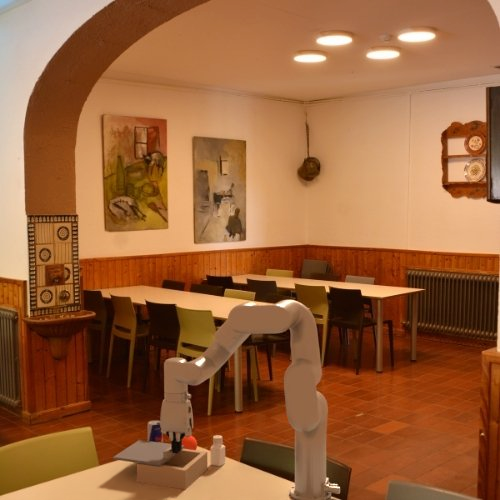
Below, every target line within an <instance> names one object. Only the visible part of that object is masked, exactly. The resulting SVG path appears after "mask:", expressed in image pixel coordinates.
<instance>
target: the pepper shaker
mask: <svg viewBox="0 0 500 500" xmlns="http://www.w3.org/2000/svg"><path fill="white" fill-rule="evenodd" d="M212 443H213V444H212V445H211V447H210V465H212V466H217V467H222V465H224V464H225V463H226V446H225V445H224V444H223V435H218V434H216V435H213V437H212Z"/></svg>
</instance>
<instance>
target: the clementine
mask: <svg viewBox="0 0 500 500" xmlns="http://www.w3.org/2000/svg"><path fill="white" fill-rule="evenodd" d="M182 445H183V446H184V448H183V449H189V450H197V449H198V442H197V439H196V438H195V437H194V436H193V435H191V436H187V437H184V438H183V439H182Z"/></svg>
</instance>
